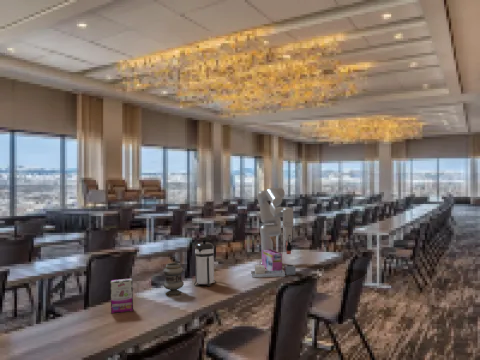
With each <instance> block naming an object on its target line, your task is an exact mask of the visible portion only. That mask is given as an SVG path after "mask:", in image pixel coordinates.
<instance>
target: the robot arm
mask: <svg viewBox="0 0 480 360" xmlns="http://www.w3.org/2000/svg"><path fill="white" fill-rule="evenodd" d="M285 194H286V193H285V190H284V188H282V187H269V188H268V189H267V190H260V191H258V192H257V196H256V197H257V202H258V205H259V211H260V213H259V215H260V221H261V223H263V224H264V225H261V226H260V227H259V234H260V241H261V243H260V244H261V246H260V247H261V248H260V249H261V250H260V251H262V250H269V249H271V250H274V242H273V239H272V238H271V237H277V236H281V234H282V232H281V231H282V227H283V228H284V229H283V240H284V241H285V242H286V240H287V251H291V252H292V241H293V227H294V209H293V208H292V207H288V206H281V204H282V203H283V198H284V197H285ZM268 201H270V204H269V202H268ZM278 206H279V207H278ZM281 218H282V227H281ZM288 240H289V241H288ZM260 263H261V264H260ZM259 264H260V265H262V260H261V261H259Z"/></svg>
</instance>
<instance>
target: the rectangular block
mask: <svg viewBox="0 0 480 360" xmlns="http://www.w3.org/2000/svg"><path fill="white" fill-rule="evenodd" d="M251 274H252V275H251ZM250 275H251V278H252V277H259V278H285V277H286V275H285V272H284V269H283V268H282V269H281V270H274V271H269V270H265V274H255V270H251V271H250Z"/></svg>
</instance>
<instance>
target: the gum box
mask: <svg viewBox="0 0 480 360" xmlns="http://www.w3.org/2000/svg"><path fill="white" fill-rule="evenodd" d="M261 261H262V264H261V265H264V266H265V268H266V269H265V270H266V271H274V270H281V269H283V254H282V253H281V252H278V251H276V250H274V249H273V250H271V249H269V250H261Z"/></svg>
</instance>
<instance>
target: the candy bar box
mask: <svg viewBox="0 0 480 360" xmlns="http://www.w3.org/2000/svg"><path fill="white" fill-rule="evenodd" d="M109 285H110V313H111V314H119V313H128V312H134V291H133V290H134V287H133V285H134V284H133V278H132V277H131V278H123V279H122V278H121V279H111V280H110V284H109Z"/></svg>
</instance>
